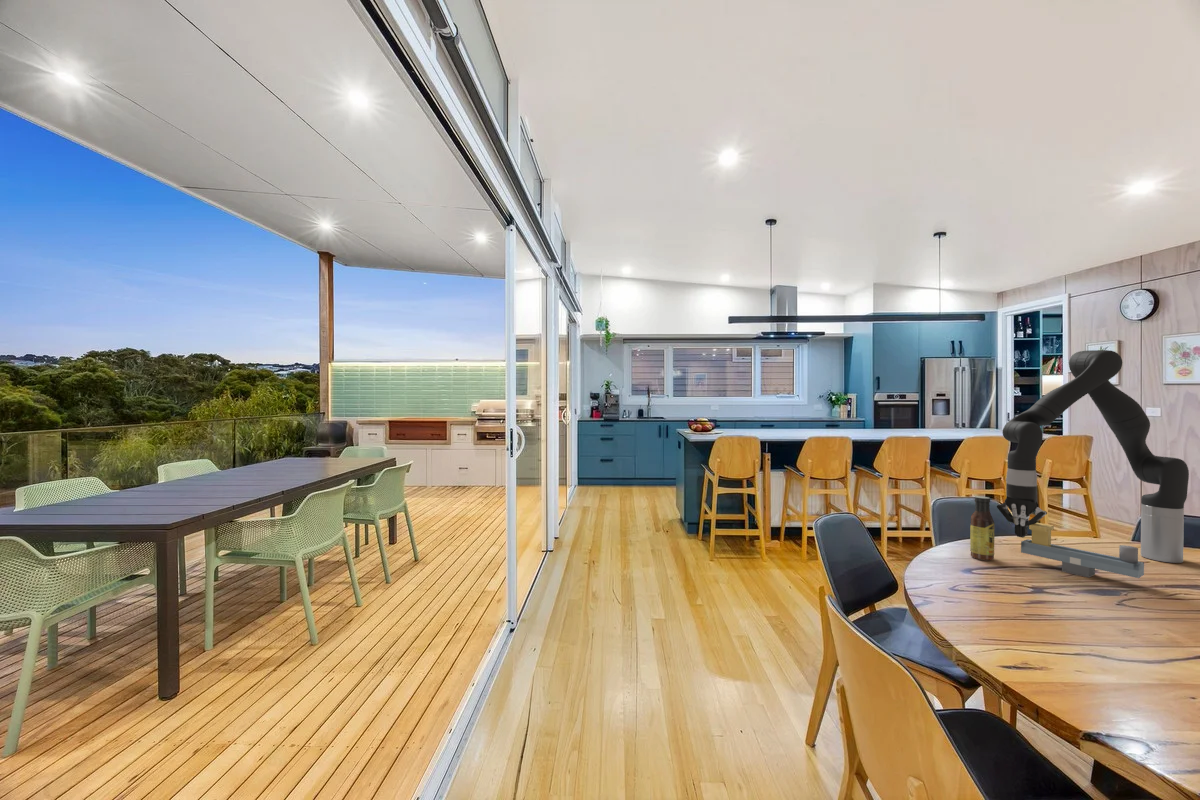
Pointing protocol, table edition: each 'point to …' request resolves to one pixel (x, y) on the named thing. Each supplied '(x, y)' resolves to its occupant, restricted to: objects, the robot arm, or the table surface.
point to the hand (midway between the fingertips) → (1020, 536)
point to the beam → (1088, 559)
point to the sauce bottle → (982, 530)
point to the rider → (1041, 534)
